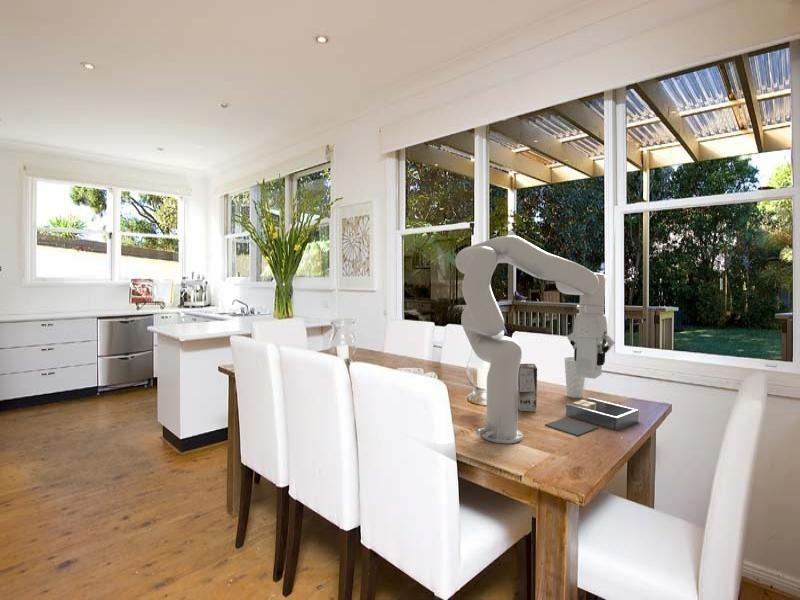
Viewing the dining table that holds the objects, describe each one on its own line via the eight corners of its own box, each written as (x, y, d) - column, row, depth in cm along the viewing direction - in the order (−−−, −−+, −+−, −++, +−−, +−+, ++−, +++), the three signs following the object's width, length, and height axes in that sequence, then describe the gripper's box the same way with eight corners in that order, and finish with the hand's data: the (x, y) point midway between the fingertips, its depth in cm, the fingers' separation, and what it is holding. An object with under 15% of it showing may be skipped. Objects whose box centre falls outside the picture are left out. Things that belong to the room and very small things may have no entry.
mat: (577, 436, 138) (577, 435, 138) (544, 425, 148) (544, 424, 148) (598, 428, 145) (598, 426, 145) (566, 418, 155) (566, 417, 155)
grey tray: (616, 430, 143) (617, 418, 143) (566, 415, 158) (566, 404, 158) (638, 421, 151) (638, 409, 151) (588, 407, 166) (588, 397, 166)
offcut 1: (579, 415, 158) (579, 404, 158) (572, 413, 161) (572, 402, 160) (588, 412, 162) (588, 401, 162) (581, 410, 164) (582, 399, 164)
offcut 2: (586, 417, 156) (587, 406, 156) (580, 415, 158) (580, 404, 158) (595, 414, 159) (596, 403, 159) (589, 412, 161) (589, 401, 161)
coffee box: (537, 412, 162) (537, 368, 161) (518, 411, 163) (519, 367, 162) (534, 404, 171) (535, 363, 170) (517, 403, 172) (517, 362, 171)
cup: (559, 395, 183) (560, 358, 182) (570, 392, 188) (571, 356, 187) (578, 400, 176) (579, 362, 175) (589, 396, 181) (590, 359, 180)
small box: (582, 372, 153) (584, 334, 152) (601, 375, 149) (603, 336, 148) (574, 376, 147) (576, 337, 146) (595, 379, 143) (597, 339, 142)
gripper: (561, 308, 152) (559, 359, 152) (611, 312, 137) (608, 368, 138) (574, 307, 156) (572, 357, 157) (623, 311, 142) (620, 366, 143)
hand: (588, 362), depth 148 cm, fingers closed on small box, 7 cm apart
